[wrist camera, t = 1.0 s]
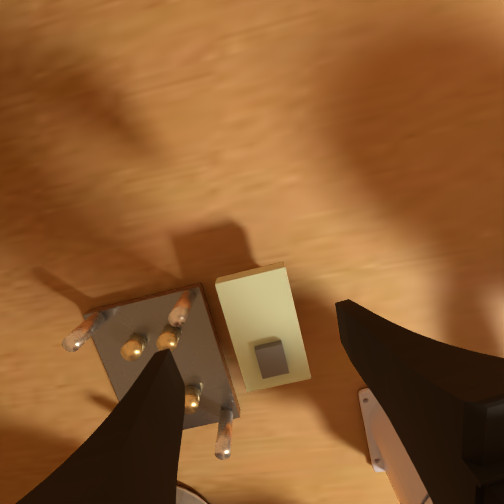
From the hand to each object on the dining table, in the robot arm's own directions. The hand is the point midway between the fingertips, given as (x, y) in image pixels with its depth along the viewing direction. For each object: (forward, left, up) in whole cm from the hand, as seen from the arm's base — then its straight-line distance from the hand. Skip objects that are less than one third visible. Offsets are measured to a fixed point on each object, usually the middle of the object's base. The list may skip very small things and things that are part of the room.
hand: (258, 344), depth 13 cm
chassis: (-7, +10, -13) cm, 18 cm away
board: (-4, 0, -10) cm, 11 cm away
